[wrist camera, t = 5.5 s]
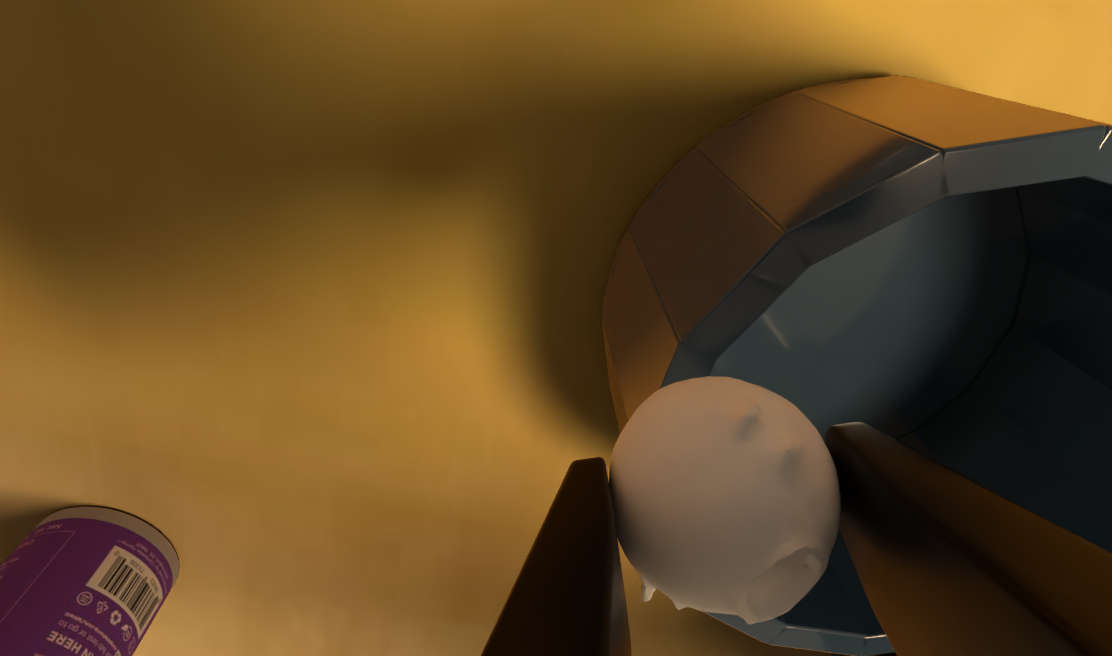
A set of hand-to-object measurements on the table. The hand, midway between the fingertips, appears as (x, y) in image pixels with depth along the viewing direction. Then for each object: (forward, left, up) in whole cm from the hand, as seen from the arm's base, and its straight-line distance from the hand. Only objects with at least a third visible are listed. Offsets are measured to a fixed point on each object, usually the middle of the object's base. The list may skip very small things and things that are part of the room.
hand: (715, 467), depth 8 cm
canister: (-7, -1, -10) cm, 12 cm away
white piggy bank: (0, 0, -1) cm, 1 cm away
